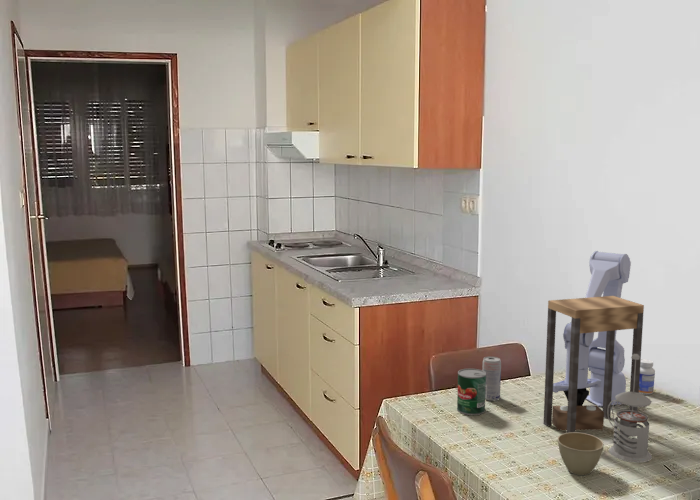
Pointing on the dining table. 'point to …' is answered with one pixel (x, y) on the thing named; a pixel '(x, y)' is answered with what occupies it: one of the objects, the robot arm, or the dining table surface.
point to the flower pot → (580, 451)
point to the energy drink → (492, 377)
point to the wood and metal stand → (588, 319)
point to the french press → (628, 446)
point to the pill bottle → (646, 377)
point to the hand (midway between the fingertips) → (574, 414)
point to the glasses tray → (579, 417)
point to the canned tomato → (471, 391)
